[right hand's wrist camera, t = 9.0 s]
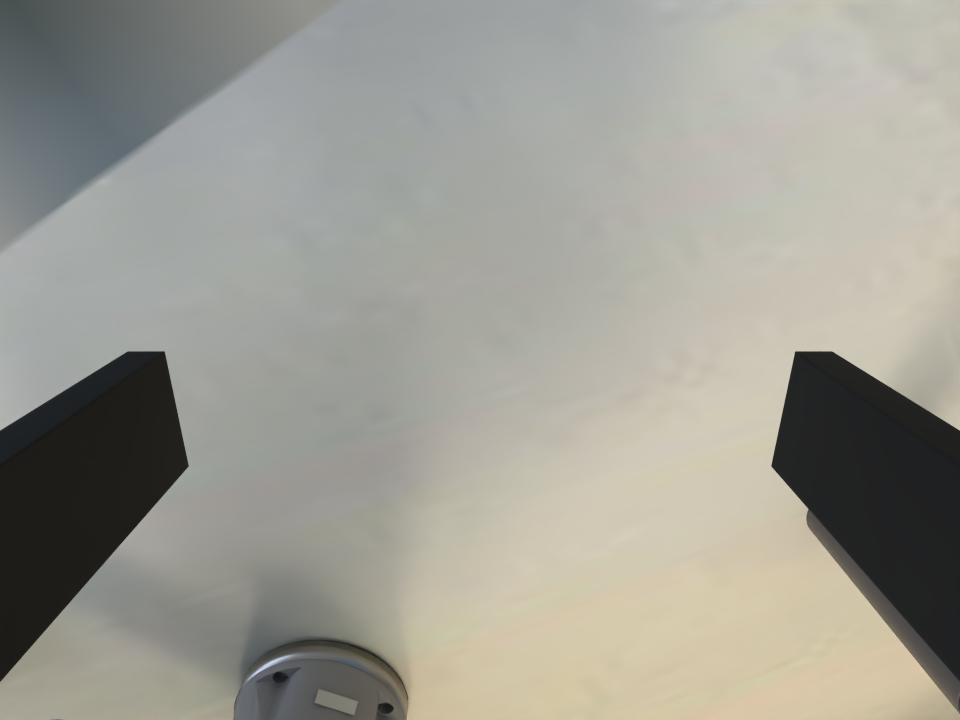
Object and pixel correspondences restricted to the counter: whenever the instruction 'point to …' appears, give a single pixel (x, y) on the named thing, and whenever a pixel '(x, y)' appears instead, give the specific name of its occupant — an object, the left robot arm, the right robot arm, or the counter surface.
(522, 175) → the counter surface
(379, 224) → the counter surface
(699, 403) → the counter surface
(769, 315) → the counter surface
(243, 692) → the right robot arm
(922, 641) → the bottle
